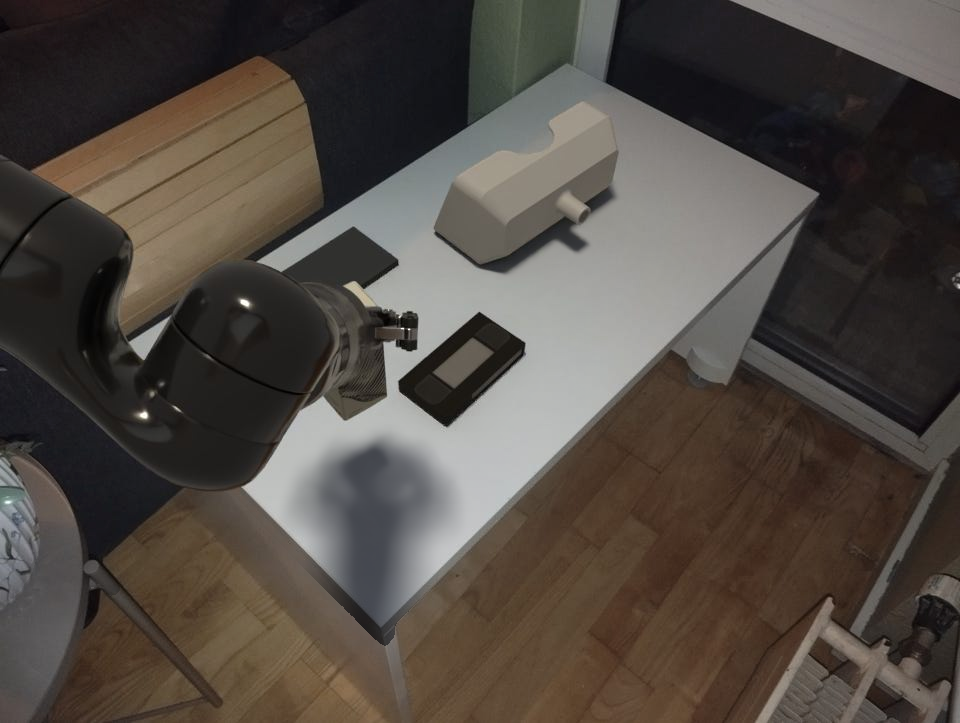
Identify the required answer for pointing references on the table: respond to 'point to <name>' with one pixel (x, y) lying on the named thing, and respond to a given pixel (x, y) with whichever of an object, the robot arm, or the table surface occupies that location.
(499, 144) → the table surface
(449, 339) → the vhs tape
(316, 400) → the robot arm
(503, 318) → the table surface
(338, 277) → the scrub mat
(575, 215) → the tank
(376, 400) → the box
